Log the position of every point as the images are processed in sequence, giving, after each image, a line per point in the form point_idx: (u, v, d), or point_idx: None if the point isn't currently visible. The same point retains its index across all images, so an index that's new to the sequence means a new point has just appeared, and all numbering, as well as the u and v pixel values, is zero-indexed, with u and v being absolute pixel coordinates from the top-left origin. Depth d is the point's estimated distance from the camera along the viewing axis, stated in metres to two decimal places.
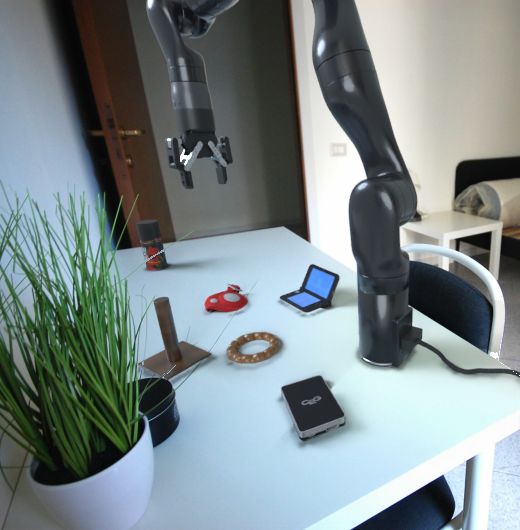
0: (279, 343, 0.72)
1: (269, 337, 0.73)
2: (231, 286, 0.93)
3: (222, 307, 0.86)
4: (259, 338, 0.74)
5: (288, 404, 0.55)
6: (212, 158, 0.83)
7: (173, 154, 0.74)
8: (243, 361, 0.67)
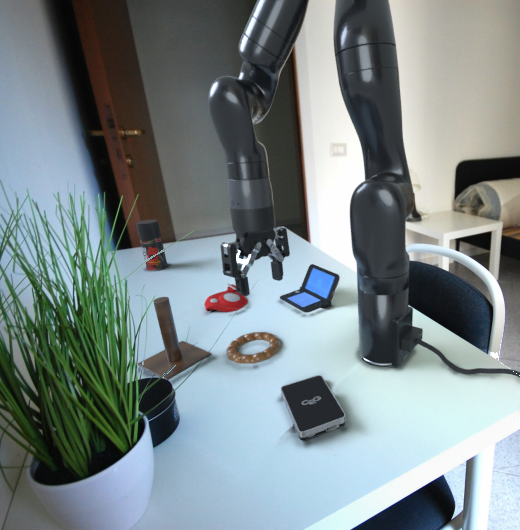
0: (279, 343, 0.72)
1: (269, 337, 0.73)
2: (231, 286, 0.93)
3: (222, 307, 0.86)
4: (259, 338, 0.74)
5: (288, 404, 0.55)
6: (268, 253, 0.72)
7: (230, 263, 0.63)
8: (243, 361, 0.67)
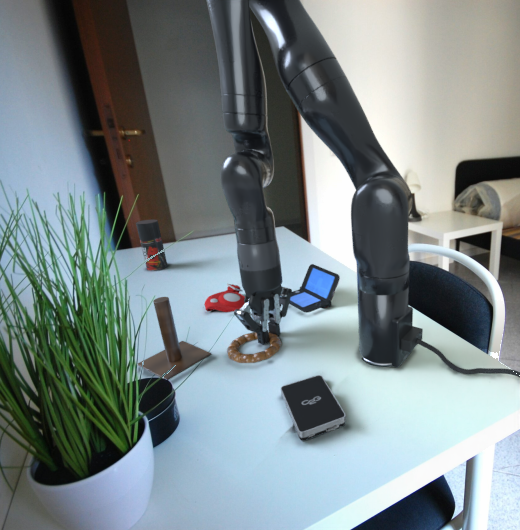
0: (280, 343, 0.72)
1: (270, 337, 0.74)
2: (231, 286, 0.93)
3: (222, 307, 0.86)
4: None
5: (288, 404, 0.55)
6: (268, 311, 0.74)
7: (249, 325, 0.68)
8: (244, 361, 0.67)
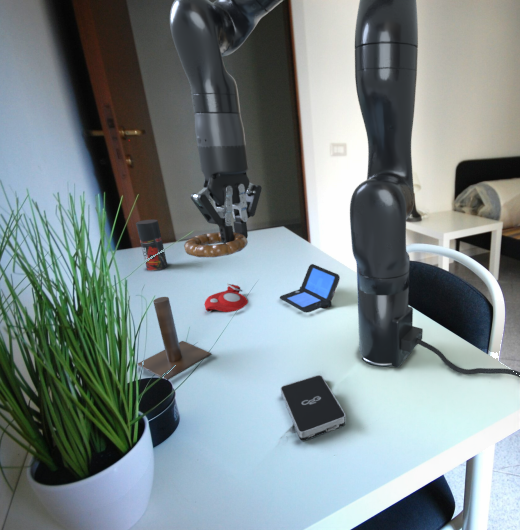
0: (245, 239, 0.64)
1: (234, 235, 0.65)
2: (231, 286, 0.93)
3: (222, 307, 0.86)
4: None
5: (288, 404, 0.55)
6: (233, 206, 0.66)
7: (208, 213, 0.60)
8: (201, 251, 0.59)
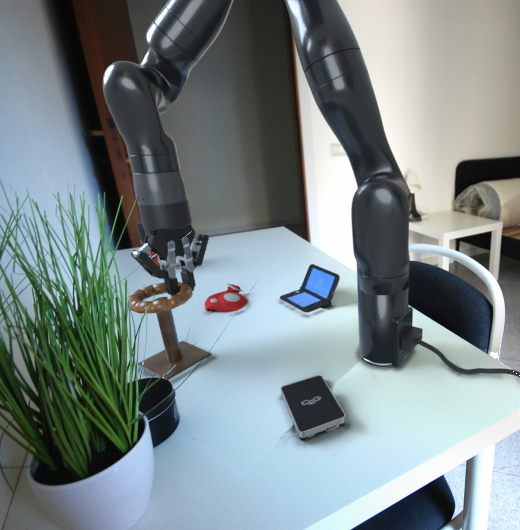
0: (189, 292, 0.64)
1: (180, 286, 0.66)
2: (231, 286, 0.93)
3: (222, 307, 0.86)
4: None
5: (288, 404, 0.55)
6: (179, 258, 0.66)
7: (149, 269, 0.61)
8: (141, 308, 0.59)
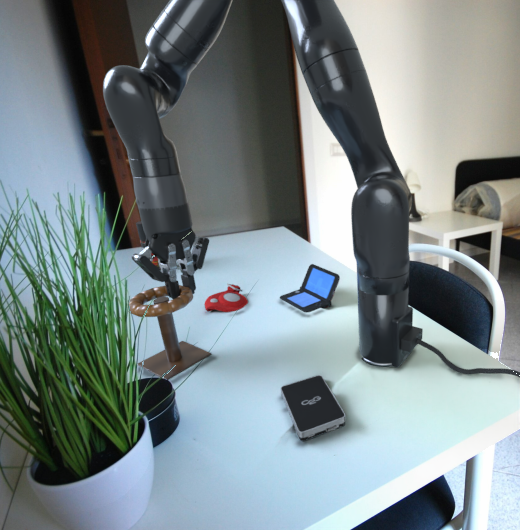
0: (190, 295, 0.65)
1: (181, 289, 0.66)
2: (231, 286, 0.93)
3: (222, 307, 0.86)
4: None
5: (288, 404, 0.55)
6: (180, 261, 0.66)
7: (150, 272, 0.61)
8: (142, 311, 0.59)
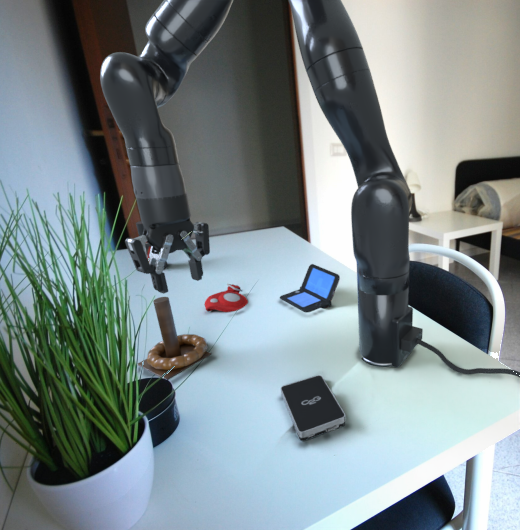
0: (204, 347, 0.69)
1: (196, 340, 0.71)
2: (231, 286, 0.93)
3: (222, 307, 0.86)
4: (187, 341, 0.71)
5: (288, 404, 0.55)
6: (184, 249, 0.67)
7: (138, 259, 0.59)
8: (160, 365, 0.64)
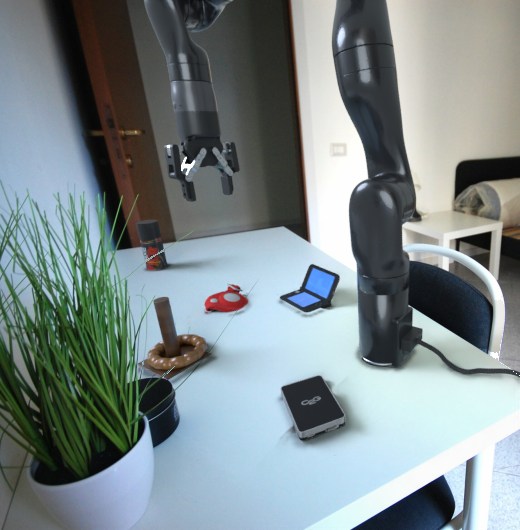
0: (204, 347, 0.69)
1: (196, 340, 0.71)
2: (231, 286, 0.93)
3: (222, 307, 0.86)
4: (187, 341, 0.71)
5: (288, 404, 0.55)
6: (217, 166, 0.74)
7: (173, 163, 0.65)
8: (160, 365, 0.64)
